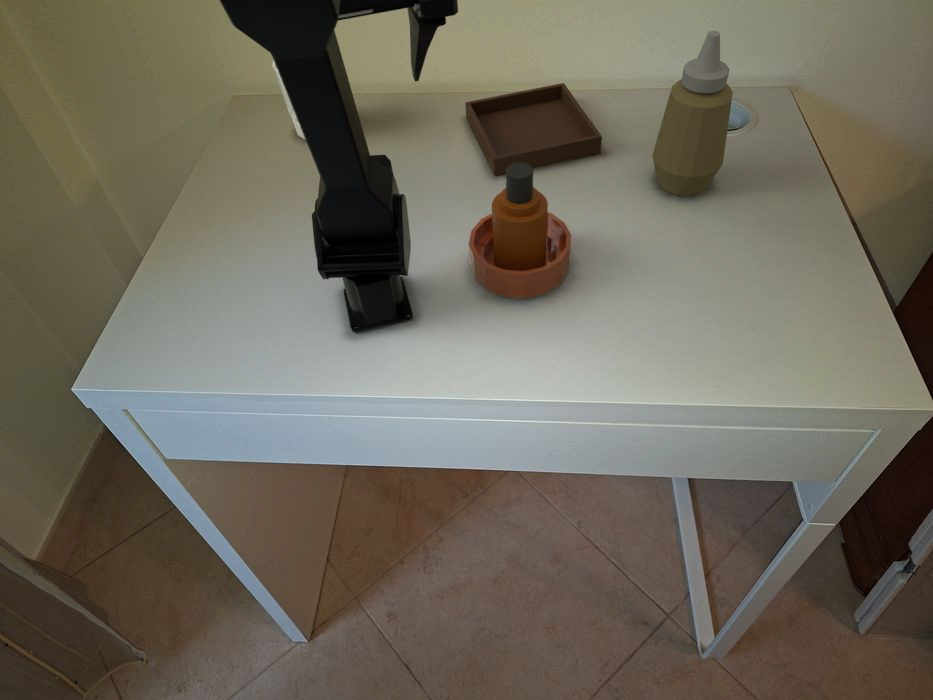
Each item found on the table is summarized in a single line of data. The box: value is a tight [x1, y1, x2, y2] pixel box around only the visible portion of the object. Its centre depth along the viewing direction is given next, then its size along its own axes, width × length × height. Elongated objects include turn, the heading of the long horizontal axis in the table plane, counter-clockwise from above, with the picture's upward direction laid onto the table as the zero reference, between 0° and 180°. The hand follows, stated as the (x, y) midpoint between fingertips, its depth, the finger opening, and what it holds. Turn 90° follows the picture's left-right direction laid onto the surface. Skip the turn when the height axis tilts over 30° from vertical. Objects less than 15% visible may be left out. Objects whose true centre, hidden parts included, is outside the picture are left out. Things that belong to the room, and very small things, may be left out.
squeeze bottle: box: [652, 30, 734, 197], centre depth 75 cm, size 8×8×18 cm
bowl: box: [468, 211, 572, 299], centre depth 72 cm, size 11×11×4 cm
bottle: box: [491, 163, 549, 271], centre depth 69 cm, size 6×6×12 cm
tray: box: [464, 82, 603, 177], centre depth 89 cm, size 14×14×2 cm
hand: (375, 87), depth 74 cm, fingers open, 9 cm apart
